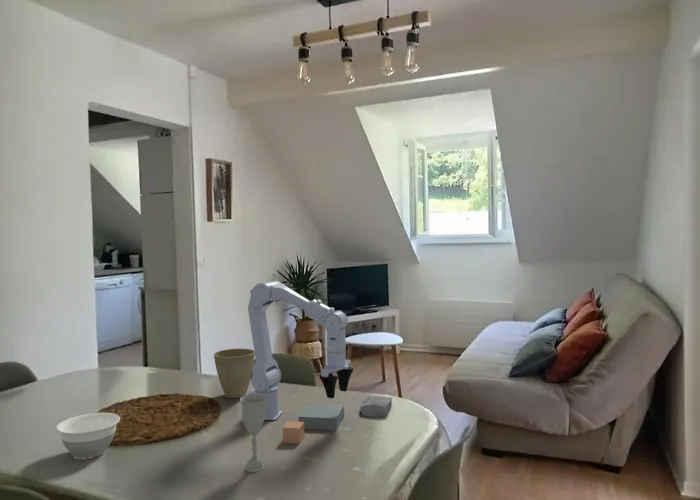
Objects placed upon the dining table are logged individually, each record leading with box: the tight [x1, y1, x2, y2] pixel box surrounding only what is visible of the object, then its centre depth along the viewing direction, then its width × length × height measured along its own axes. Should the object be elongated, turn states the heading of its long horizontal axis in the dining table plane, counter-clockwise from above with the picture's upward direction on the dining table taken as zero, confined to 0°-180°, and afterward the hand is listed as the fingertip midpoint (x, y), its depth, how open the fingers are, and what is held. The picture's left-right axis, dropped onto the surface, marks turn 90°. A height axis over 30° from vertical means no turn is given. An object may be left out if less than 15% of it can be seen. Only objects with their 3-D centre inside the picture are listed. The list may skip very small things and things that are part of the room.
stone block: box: [359, 395, 393, 417], centre depth 179 cm, size 12×5×10 cm
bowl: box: [55, 412, 121, 458], centre depth 148 cm, size 16×16×9 cm
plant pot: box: [213, 348, 255, 399], centre depth 198 cm, size 15×15×16 cm
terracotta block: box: [282, 420, 305, 444], centre depth 155 cm, size 5×5×4 cm
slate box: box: [298, 403, 345, 431], centre depth 169 cm, size 12×12×4 cm
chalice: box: [239, 393, 267, 473], centre depth 137 cm, size 7×7×18 cm
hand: (336, 394), depth 166 cm, fingers open, 7 cm apart
